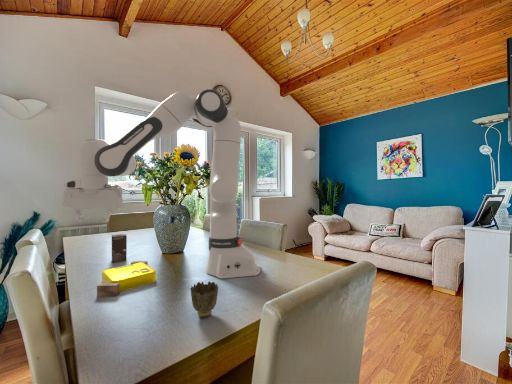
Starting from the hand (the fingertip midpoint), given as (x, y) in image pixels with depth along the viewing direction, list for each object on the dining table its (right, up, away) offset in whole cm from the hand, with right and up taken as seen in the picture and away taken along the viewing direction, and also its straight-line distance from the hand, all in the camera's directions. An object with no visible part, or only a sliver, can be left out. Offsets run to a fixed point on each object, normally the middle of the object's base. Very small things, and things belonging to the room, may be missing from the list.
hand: (93, 221), depth 90 cm
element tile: (+13, -23, +1) cm, 26 cm away
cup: (+46, -23, -23) cm, 56 cm away
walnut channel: (+13, -22, 0) cm, 26 cm away
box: (-4, -22, +25) cm, 33 cm away
